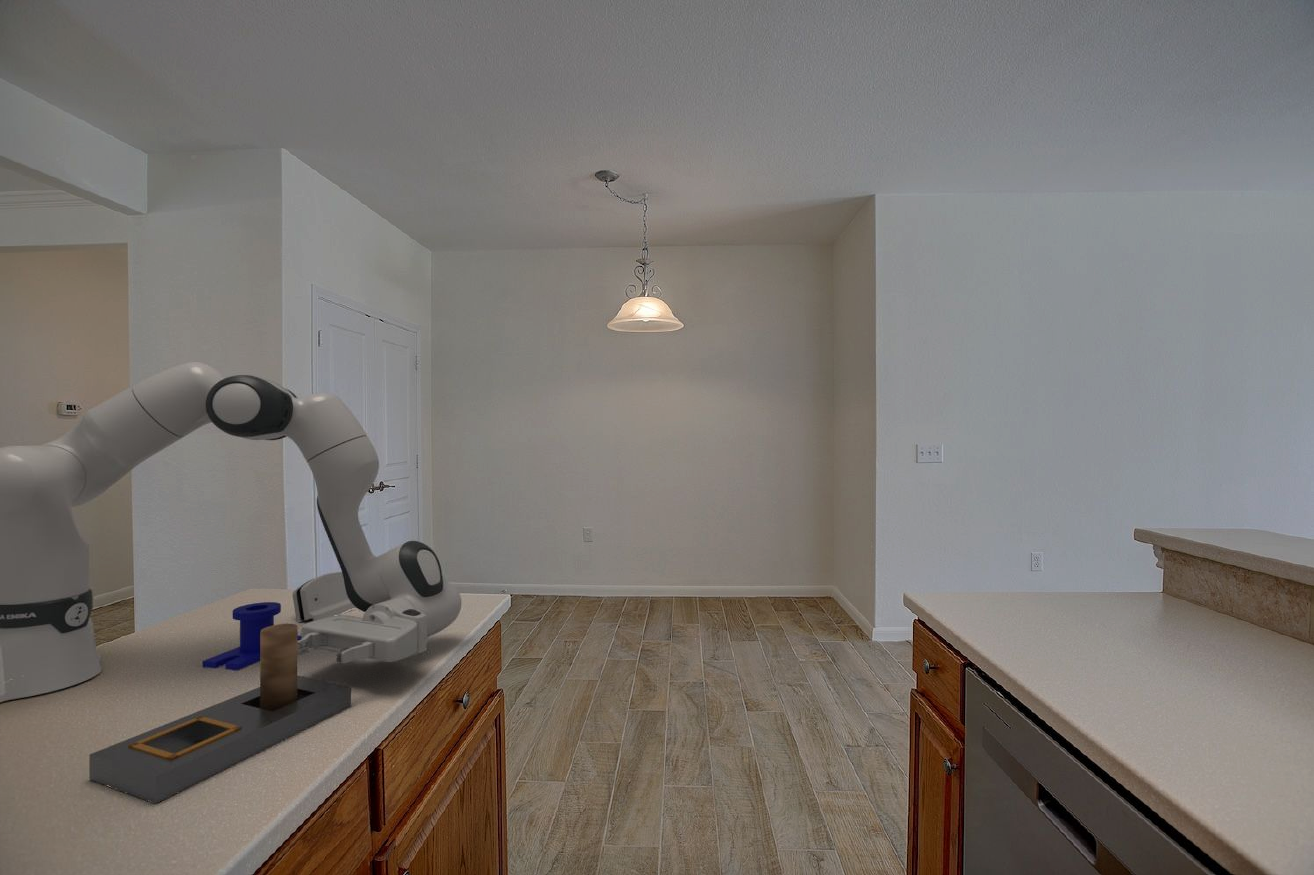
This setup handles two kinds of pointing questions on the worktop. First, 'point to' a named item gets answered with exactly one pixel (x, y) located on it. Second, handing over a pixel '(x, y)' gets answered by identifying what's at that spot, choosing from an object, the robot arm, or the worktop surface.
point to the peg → (278, 666)
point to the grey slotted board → (211, 740)
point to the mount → (247, 636)
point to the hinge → (321, 598)
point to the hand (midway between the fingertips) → (316, 653)
